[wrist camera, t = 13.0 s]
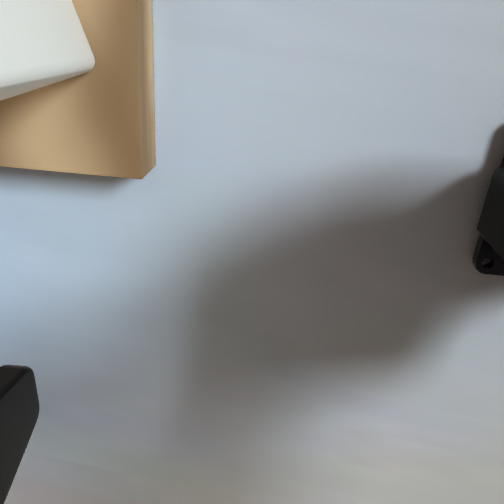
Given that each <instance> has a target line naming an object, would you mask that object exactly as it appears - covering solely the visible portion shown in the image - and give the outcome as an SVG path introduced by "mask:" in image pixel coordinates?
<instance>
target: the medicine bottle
mask: <svg viewBox="0 0 504 504" xmlns="http://www.w3.org/2000/svg"><path fill="white" fill-rule="evenodd" d="M94 64H95V58H94V55H93V53H92V50H91V48H90V45H89V43H88V40H87V38H86V35H85V33H84V30H83V28H82V25H81V23H80V20H79V17H78V15H77V12H76V10H75V7H74V5H73V2H72V0H0V101H2V100H5V99H8V98H11V97H14V96H17V95H20V94H23V93H26V92H29V91H32V90H35V89H38V88H41V87H44V86H47V85H50V84H53V83H56V82H59V81H62V80H65V79H68V78H71V77H74V76H77V75H80V74H83V73H86V72H89V71H90V70H92V69H93V67H94Z"/></svg>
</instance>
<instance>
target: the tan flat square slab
mask: <svg viewBox="0 0 504 504" xmlns="http://www.w3.org/2000/svg"><path fill="white" fill-rule="evenodd" d="M72 2H73V5H74V7H75V10H76V12H77V15H78V17H79V20H80V23H81V25H82V28H83V30H84V33H85V35H86V38H87V40H88V43H89V45H90V48H91V50H92V53H93V55H94V58H95V64H94V67H93V69H92V70H90V71H89V72H86V73H83V74H80V75H77V76H74V77H71V78H68V79H65V80H62V81H59V82H56V83H53V84H50V85H47V86H44V87H41V88H38V89H35V90H32V91H29V92H26V93H23V94H20V95H17V96H14V97H11V98H8V99H5V100H2V101H0V166H2V167H13V168H24V169H35V170H46V171H57V172H68V173H79V174H90V175H101V176H112V177H123V178H133V179H142V178H143V177H144V176H145V175H146V174H147V173H148V172H149V171H150V170H151V169H152V168H153V167H154V166H155V165H156V158H155V113H154V67H153V22H152V0H72Z"/></svg>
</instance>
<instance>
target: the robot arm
mask: <svg viewBox="0 0 504 504" xmlns="http://www.w3.org/2000/svg"><path fill="white" fill-rule="evenodd" d="M477 230H478V231H479V233H480V236H479V239H478V243H477V246H476V249H475V252H474V256H473V261H472V262H473V265H474V266H475V268H476V269H477V270H478V271H479V272H480V273H483V274H491V275H502V276H504V159H503V162H502V165H501V167H500V168H499V169H497V170H496V171H495V172H494V174H493V177H492V180H491V184H490V187H489V190H488V193H487V197H486V200H485V203H484V207H483V210H482V213H481V216H480V220H479V223H478V226H477ZM486 258H491V260H490V262H489V263H487V264H482V262H483V260H485V259H486ZM38 415H39V400H38V394H37V388H36V383H35V377H34V373H33V371H32V369H31V368H30V367H27V366H18V365H4V366H1V367H0V504H4V502H5V500H6V497H7V495H8V492H9V490H10V487H11V485H12V482H13V479H14V477H15V474H16V472H17V469H18V467H19V464H20V462H21V459H22V457H23V454H24V452H25V449H26V447H27V444H28V442H29V439H30V437H31V434H32V432H33V429H34V427H35V424H36V421H37V419H38Z"/></svg>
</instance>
